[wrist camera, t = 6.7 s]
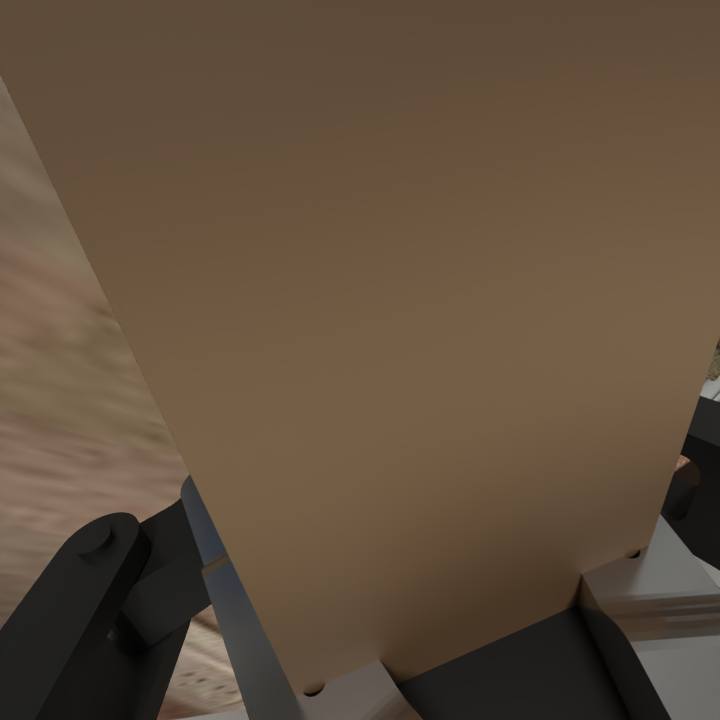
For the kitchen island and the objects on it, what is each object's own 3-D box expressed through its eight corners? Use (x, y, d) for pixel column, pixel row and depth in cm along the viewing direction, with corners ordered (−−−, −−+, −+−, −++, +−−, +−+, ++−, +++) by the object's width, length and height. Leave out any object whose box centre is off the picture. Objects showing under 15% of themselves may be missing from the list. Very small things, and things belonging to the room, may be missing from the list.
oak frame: (398, 480, 17) (568, 798, 9) (300, 513, 16) (383, 899, 8) (349, 96, 10) (918, -186, 2) (179, 119, 10) (-194, -191, 1)
